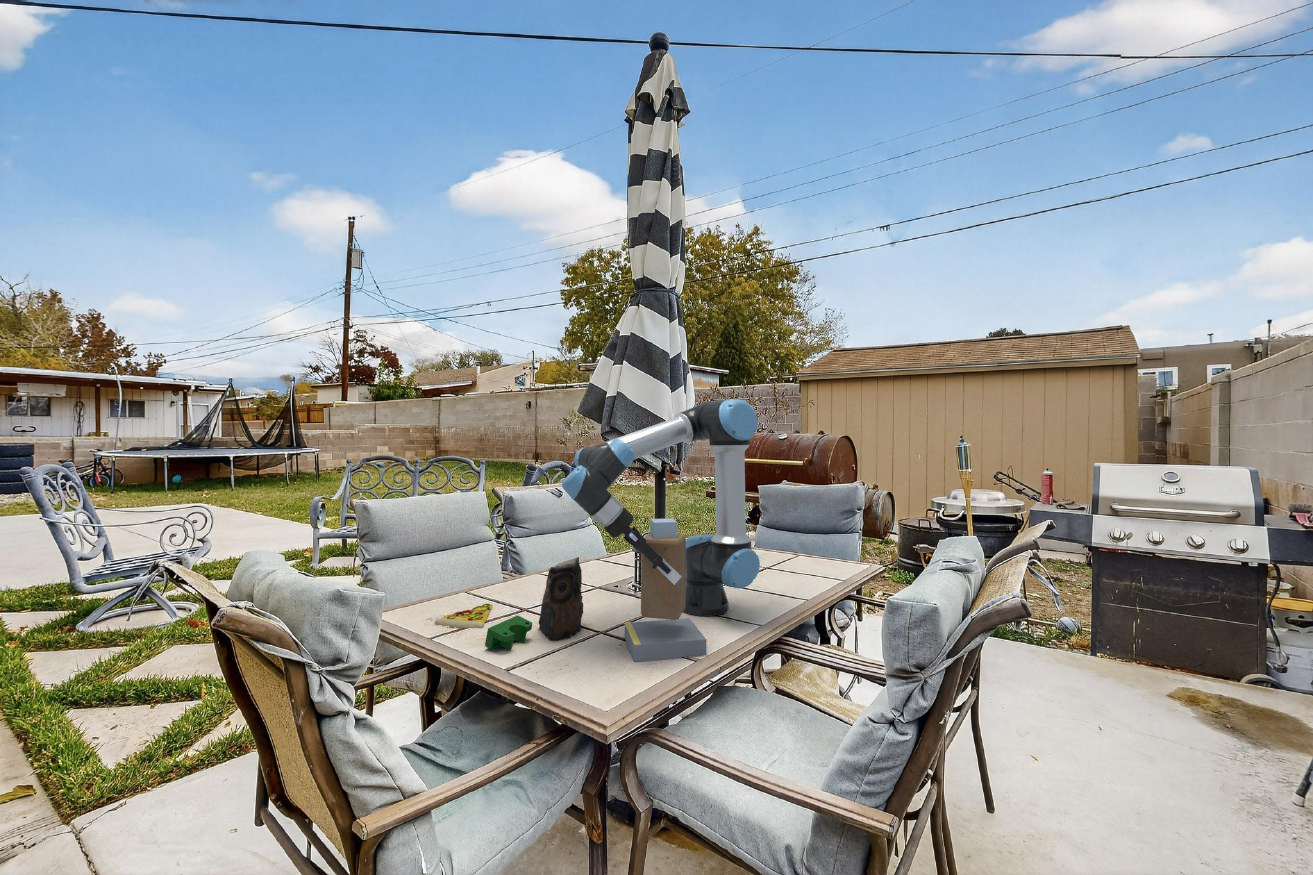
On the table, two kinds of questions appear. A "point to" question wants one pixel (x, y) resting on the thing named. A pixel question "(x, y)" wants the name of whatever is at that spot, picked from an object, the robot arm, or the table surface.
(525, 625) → the clamp
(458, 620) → the pizza slice
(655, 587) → the wooden block
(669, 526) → the box
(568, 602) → the owl
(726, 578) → the robot arm
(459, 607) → the table surface
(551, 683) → the table surface
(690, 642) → the dock
